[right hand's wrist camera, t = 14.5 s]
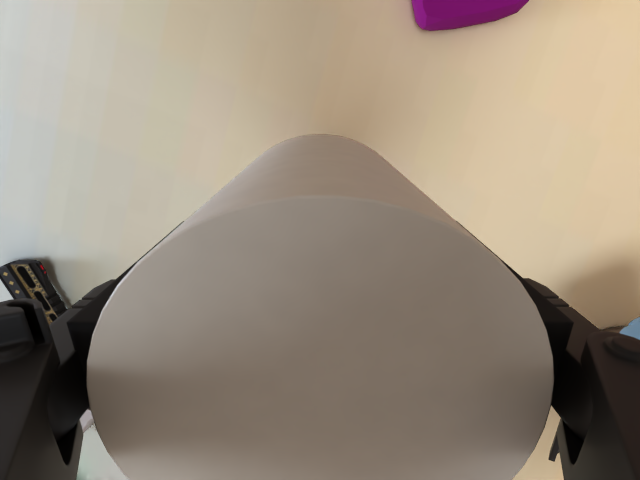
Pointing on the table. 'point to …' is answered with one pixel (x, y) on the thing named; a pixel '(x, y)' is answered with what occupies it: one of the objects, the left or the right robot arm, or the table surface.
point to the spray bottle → (462, 12)
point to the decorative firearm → (37, 297)
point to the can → (320, 336)
